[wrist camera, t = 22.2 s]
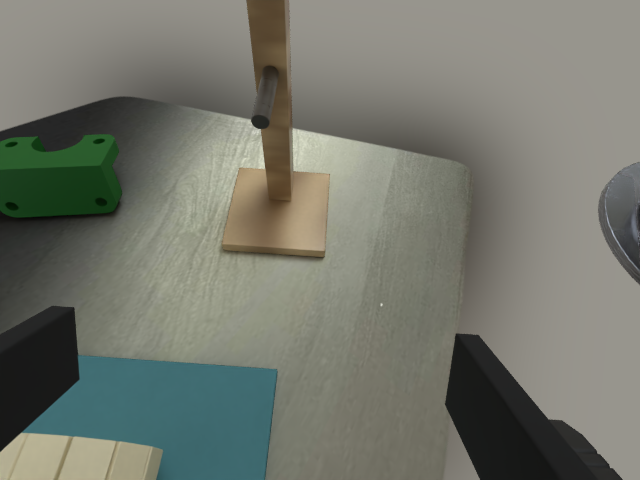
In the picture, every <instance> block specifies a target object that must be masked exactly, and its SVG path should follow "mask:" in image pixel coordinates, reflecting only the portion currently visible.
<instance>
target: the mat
mask: <svg viewBox="0 0 640 480" xmlns="http://www.w3.org/2000/svg"><path fill="white" fill-rule="evenodd" d="M78 363H79V376H80V380H79V381H77V382H76V383H75V384H74V385H73V386H72V387H71V388H70V389H69V390H68V391H66V392H65V393H64V394H63V395H62V396H61V397H60V398H59V399H58V400H57V401H56V402H54V403H53V404H52V405H51V406H50V407H49V408H48V409H47V410H46V411H45V412H43V413H42V414H41V415H40V416H39V417H38V418H37V419H36V420H35V421H34V422H33V423H31V424H30V425H29V426H28V427H27V428H26V429H25V430H24V431H23V432H22V433H35V434H49V435H63V436H71V437H75V436H76V437H85V438H94V439H103V440H112V441H119V442H127V443H134V444H140V445H147V446H152V447H155V448H159V449H162V450H163V454H162V458H161V462H160V466H159V470H158V474H157V478H156V480H265V475H266V466H267V458H268V449H269V440H270V432H271V423H272V414H273V406H274V397H275V388H276V380H277V369H265V368H251V367H237V366H223V365H209V364H194V363H180V362H166V361H152V360H138V359H124V358H110V357H96V356H82V355H78Z"/></svg>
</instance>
